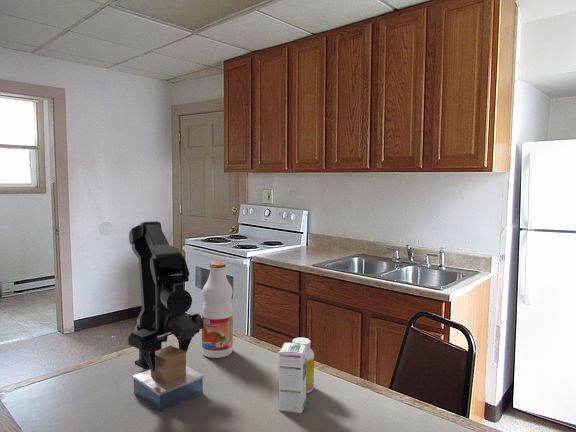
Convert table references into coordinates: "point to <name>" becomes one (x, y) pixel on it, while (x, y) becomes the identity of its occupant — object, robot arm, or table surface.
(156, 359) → the walnut block
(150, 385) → the slate tin
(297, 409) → the syrup box
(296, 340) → the supplement bottle
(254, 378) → the table surface
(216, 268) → the fruit juice
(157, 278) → the robot arm
